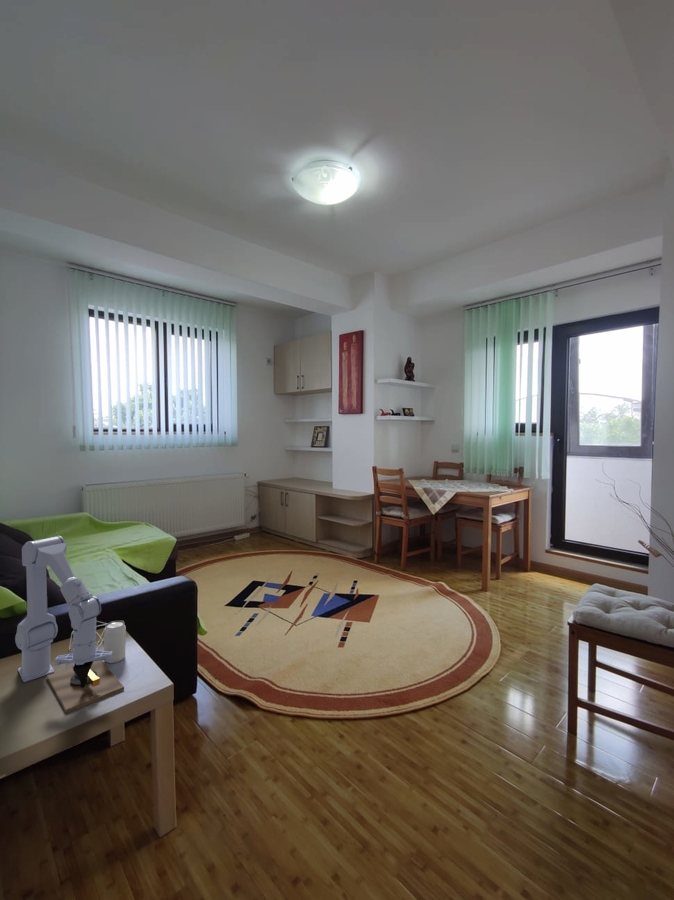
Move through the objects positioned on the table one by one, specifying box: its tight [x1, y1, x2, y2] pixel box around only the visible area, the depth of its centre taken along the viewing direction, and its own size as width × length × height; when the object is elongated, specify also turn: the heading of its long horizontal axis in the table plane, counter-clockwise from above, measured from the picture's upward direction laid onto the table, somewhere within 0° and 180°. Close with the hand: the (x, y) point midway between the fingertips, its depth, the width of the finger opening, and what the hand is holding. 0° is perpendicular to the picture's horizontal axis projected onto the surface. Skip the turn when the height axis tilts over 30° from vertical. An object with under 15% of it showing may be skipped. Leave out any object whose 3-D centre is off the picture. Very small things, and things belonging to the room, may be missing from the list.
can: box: [103, 620, 127, 664], centre depth 140 cm, size 6×6×12 cm
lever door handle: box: [70, 668, 100, 687], centre depth 124 cm, size 13×7×4 cm, turn 50°
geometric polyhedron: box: [68, 620, 108, 652], centre depth 146 cm, size 12×11×9 cm
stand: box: [46, 660, 125, 714], centre depth 126 cm, size 22×15×1 cm
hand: (83, 685), depth 120 cm, fingers closed
